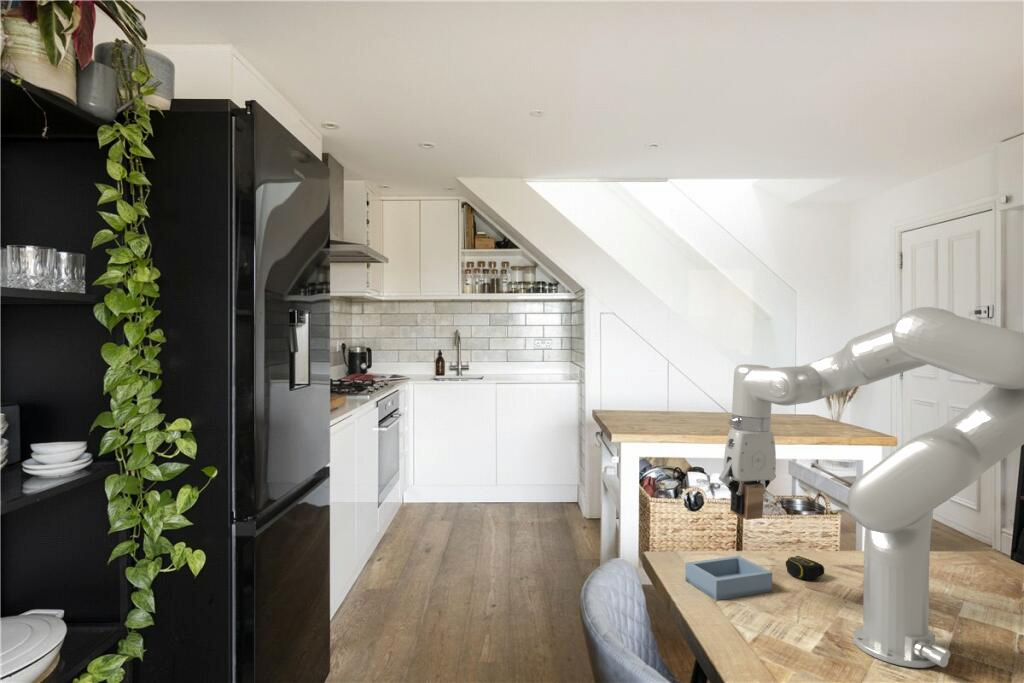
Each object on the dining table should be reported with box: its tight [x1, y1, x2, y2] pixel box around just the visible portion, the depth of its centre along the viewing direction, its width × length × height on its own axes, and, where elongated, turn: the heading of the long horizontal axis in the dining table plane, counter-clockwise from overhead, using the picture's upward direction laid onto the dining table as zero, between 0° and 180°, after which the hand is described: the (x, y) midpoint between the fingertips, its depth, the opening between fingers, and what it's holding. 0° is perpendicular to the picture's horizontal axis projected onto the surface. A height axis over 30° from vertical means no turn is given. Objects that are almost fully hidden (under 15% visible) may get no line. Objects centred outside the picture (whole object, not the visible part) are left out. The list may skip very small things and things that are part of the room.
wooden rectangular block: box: [729, 481, 765, 521], centre depth 123 cm, size 5×4×7 cm
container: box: [685, 555, 773, 601], centre depth 128 cm, size 10×14×4 cm
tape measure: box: [785, 555, 825, 580], centre depth 134 cm, size 7×7×4 cm
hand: (746, 510), depth 123 cm, fingers closed on wooden rectangular block, 4 cm apart
